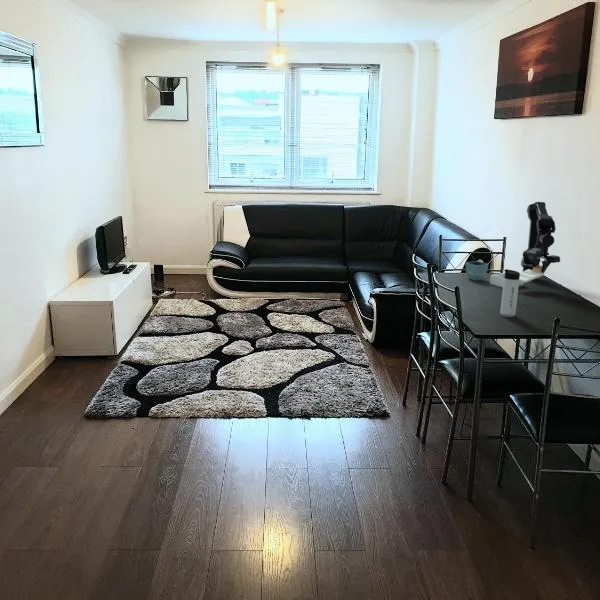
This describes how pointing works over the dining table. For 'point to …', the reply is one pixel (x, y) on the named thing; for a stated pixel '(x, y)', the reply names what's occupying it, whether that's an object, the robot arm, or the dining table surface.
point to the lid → (531, 274)
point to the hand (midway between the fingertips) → (539, 272)
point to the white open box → (500, 280)
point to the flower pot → (476, 270)
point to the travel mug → (510, 293)
